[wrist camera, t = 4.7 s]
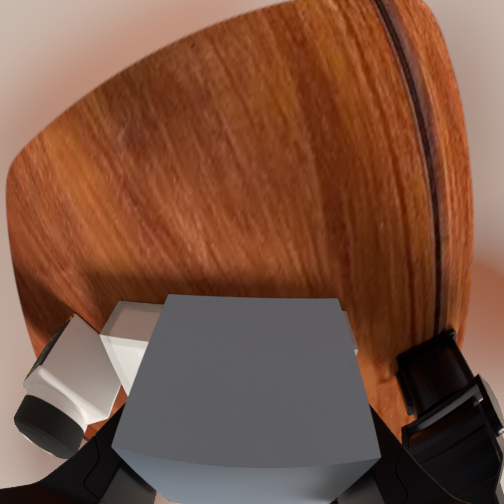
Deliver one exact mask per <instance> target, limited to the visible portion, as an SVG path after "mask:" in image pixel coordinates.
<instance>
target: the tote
mask: <svg viewBox="0 0 504 504" xmlns="http://www.w3.org/2000/svg"><path fill="white" fill-rule="evenodd" d="M163 306H164V305H162V304H150V303H139V302H128V301H119V302H118V303H117V305H116V307H115V308H114V310H113V312H112V313H111V315H110V317H109V319H108V320H107V322H106V324H105V326H104V327H103V329H102V331H101V333H100V334H99V335H100V338H101V340H102V342H103V345H104V347H105V349H106V352H107V354H108V356H109V358H110V361H111V363H112V365H113V367H114V369H115V371H116V374H117V376H118V378H119V380H120V382H121V384H122V386H123V388H124V390H125V392H126V394H127V396H129V393H130V390H131V387H132V385H133V382H134V379H135V377H136V374H137V371H138V369H139V366H140V363H141V361H142V358H143V356H144V353H145V350H146V348H147V345H148V343H149V340H150V338H151V335H152V333H153V330H154V328H155V325H156V323H157V321H158V318H159V316H160V313H161V311H162V309H163ZM342 312H343V316H344V319H345V322H346V325H347V328H348V332H349V335H350V338H351V341H352V345H353V348H354V352H355V355H357V352H358V346H357V343H356V339H355V336H354V333H353V330H352V327H351V324H350V321H349V318H348V315H347V312H346V311H342Z"/></svg>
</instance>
